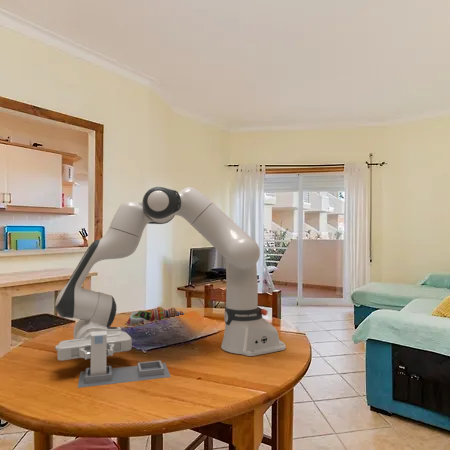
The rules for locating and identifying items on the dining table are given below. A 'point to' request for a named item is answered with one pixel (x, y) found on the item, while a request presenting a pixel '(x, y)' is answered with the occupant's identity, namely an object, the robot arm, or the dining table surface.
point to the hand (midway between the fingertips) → (99, 354)
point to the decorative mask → (151, 316)
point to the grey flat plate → (125, 374)
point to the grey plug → (98, 352)
